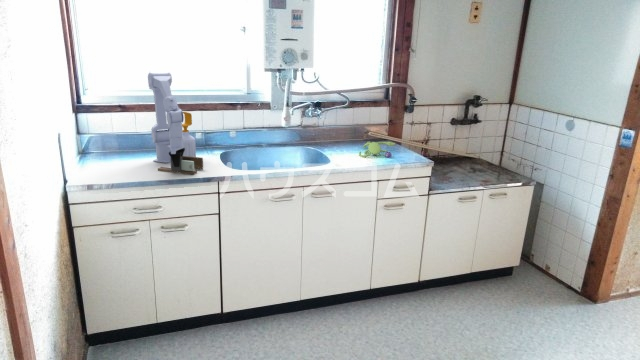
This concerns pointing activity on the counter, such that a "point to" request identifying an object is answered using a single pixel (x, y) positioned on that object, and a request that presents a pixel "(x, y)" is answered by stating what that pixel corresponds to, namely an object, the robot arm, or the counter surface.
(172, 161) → the block
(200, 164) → the door frame
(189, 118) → the soap bottle
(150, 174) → the counter surface
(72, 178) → the counter surface
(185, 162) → the pale green block
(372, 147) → the figurine
